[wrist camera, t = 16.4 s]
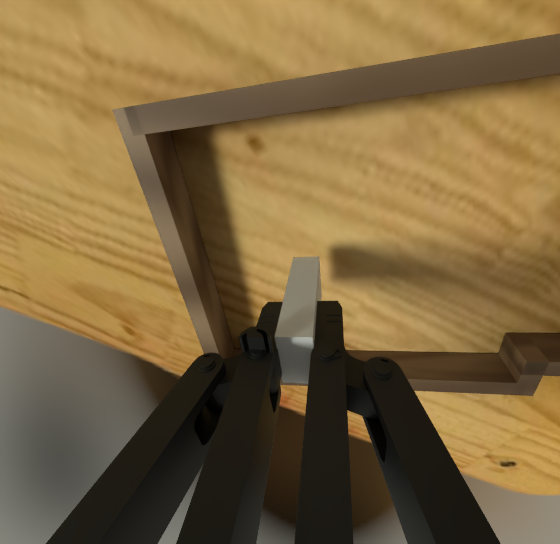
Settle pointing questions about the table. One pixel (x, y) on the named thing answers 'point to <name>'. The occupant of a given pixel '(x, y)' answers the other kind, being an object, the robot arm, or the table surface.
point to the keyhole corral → (315, 95)
